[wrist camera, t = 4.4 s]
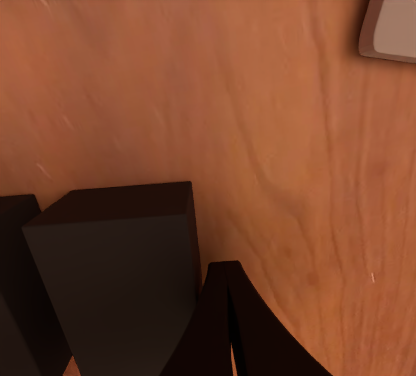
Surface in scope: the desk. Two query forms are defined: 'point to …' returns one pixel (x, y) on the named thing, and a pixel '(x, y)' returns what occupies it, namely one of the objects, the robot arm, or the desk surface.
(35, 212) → the pad
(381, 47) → the smartphone
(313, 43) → the desk surface
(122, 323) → the pad
